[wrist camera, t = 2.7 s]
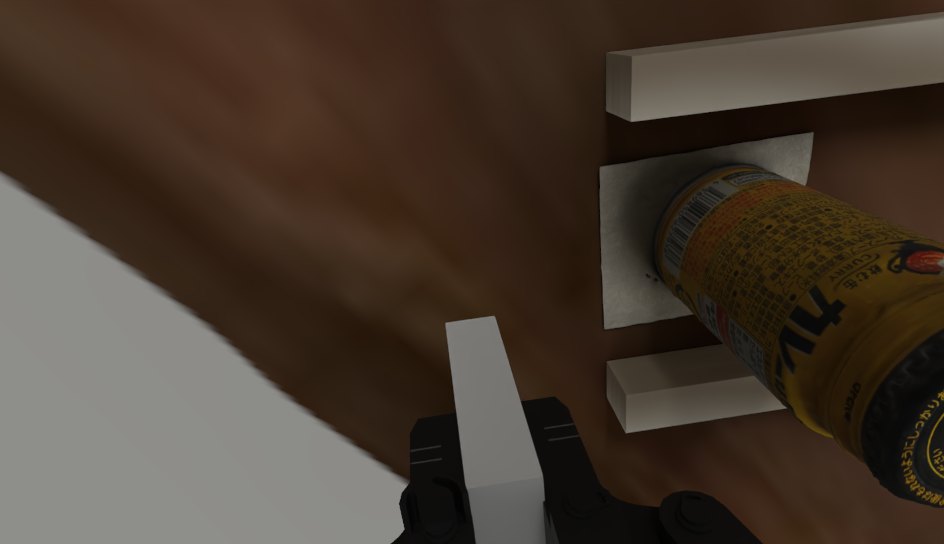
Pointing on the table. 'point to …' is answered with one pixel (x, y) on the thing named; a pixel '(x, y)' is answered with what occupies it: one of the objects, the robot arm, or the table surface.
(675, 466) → the table surface
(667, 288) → the condiment
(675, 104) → the rail track
